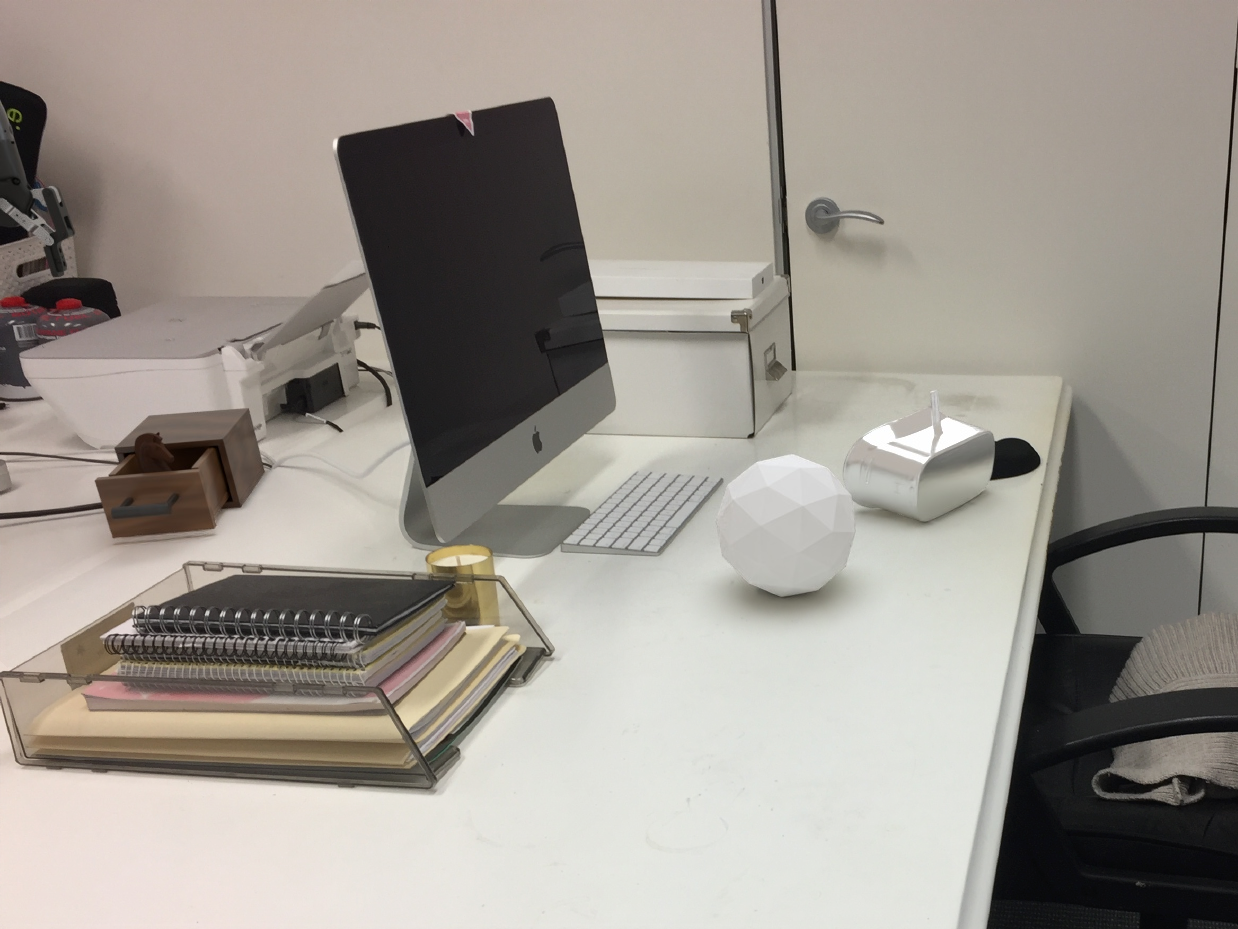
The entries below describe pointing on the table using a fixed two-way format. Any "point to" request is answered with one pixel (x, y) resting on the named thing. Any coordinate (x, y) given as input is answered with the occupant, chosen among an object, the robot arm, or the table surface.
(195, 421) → the cabinet
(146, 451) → the chess piece
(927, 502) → the vr headset
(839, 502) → the geometric sphere
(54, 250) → the robot arm
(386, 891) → the table surface
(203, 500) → the drawer
